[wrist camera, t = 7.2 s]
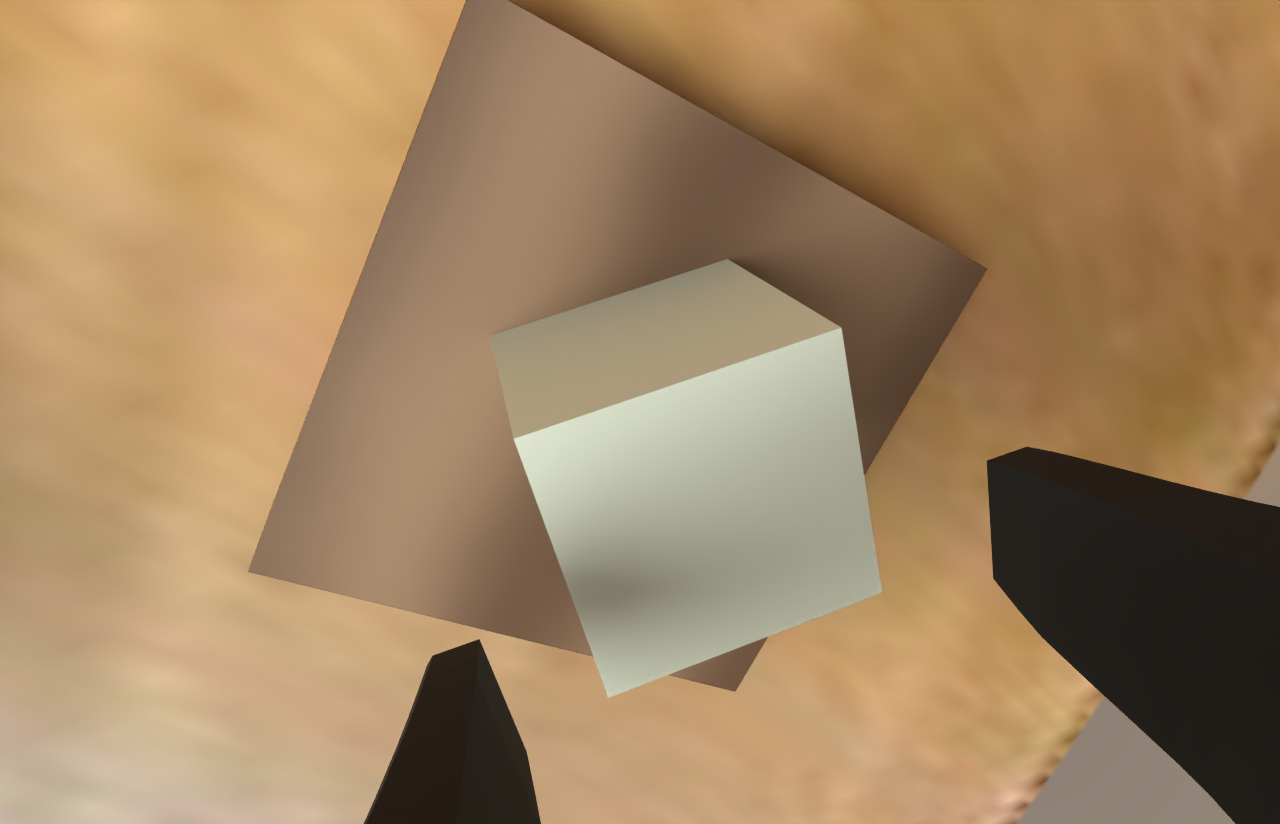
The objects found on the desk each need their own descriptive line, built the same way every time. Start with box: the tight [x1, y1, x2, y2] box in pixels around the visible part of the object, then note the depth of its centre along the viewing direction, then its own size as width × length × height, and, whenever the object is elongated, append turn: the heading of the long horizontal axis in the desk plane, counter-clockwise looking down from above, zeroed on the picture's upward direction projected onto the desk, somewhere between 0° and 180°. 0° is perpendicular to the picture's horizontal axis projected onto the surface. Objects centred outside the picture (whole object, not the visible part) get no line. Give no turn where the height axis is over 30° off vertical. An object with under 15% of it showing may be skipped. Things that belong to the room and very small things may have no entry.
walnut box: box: [248, 0, 987, 691], centre depth 18 cm, size 12×12×3 cm
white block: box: [490, 259, 882, 698], centre depth 15 cm, size 5×5×5 cm
